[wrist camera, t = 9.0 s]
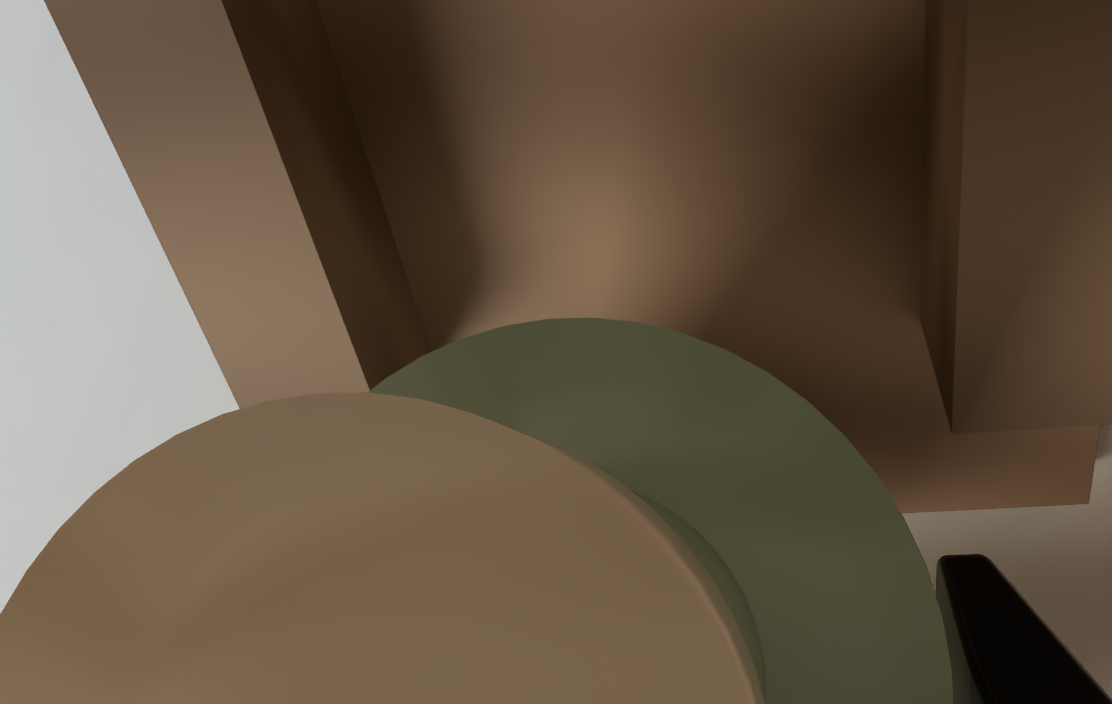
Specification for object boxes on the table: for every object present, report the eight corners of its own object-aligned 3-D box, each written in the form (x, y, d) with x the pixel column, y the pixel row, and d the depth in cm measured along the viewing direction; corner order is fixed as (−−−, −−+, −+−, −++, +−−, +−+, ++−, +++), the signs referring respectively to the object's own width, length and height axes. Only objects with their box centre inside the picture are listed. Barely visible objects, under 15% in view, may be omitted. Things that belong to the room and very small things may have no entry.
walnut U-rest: (1075, 470, 18) (1137, 625, 15) (365, 510, 21) (316, 648, 18) (1259, -930, 9) (1497, -1136, 6) (-69, -526, 11) (-300, -551, 9)
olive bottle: (873, 765, 16) (1323, 1985, 3) (543, 766, 17) (-381, 1632, 4) (839, 427, 17) (1040, 5, 3) (529, 448, 18) (-240, 188, 5)
